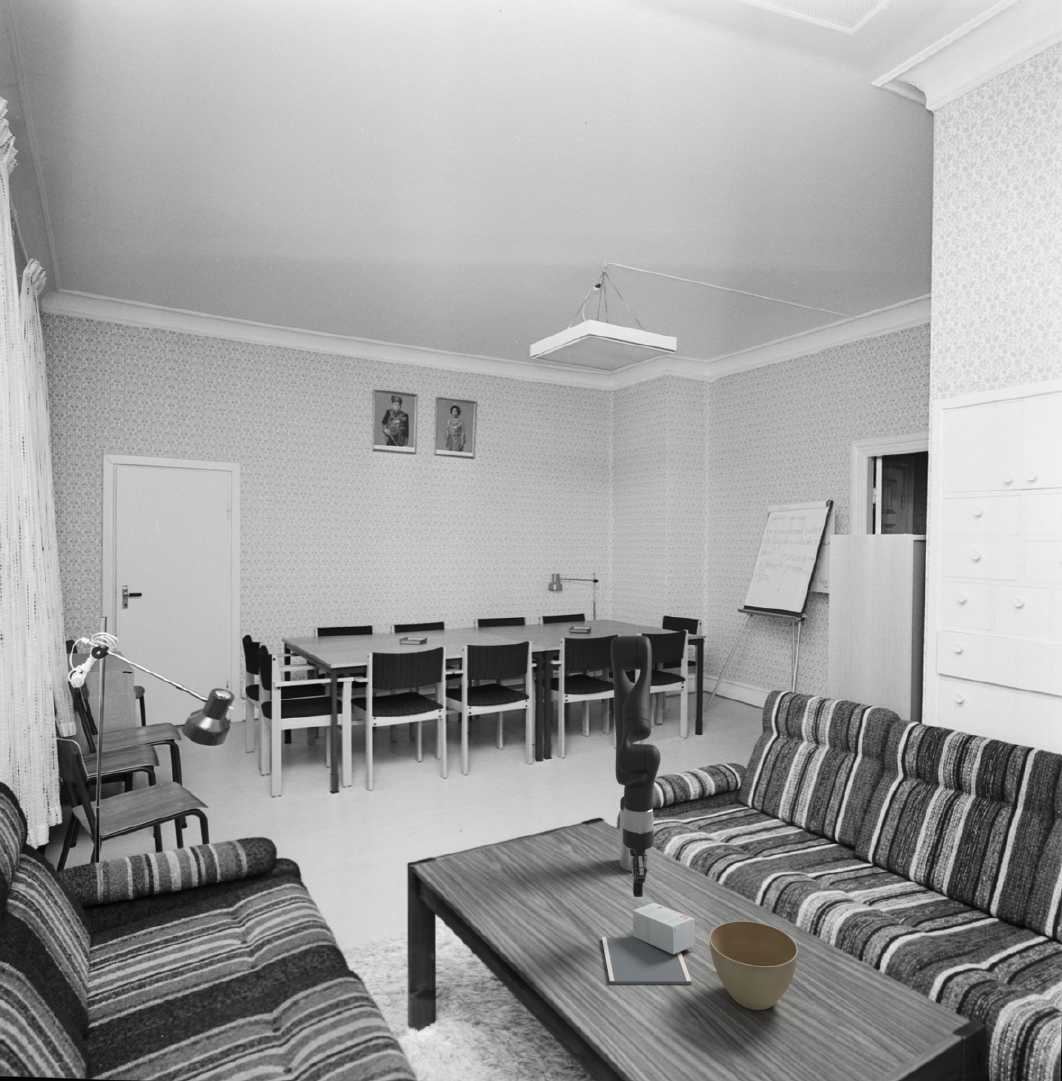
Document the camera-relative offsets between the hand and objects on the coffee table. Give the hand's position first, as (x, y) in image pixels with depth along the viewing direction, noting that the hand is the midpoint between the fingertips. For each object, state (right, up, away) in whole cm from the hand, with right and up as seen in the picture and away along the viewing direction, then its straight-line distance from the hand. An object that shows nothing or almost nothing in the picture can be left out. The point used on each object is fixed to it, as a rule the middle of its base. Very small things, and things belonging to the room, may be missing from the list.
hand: (637, 895), depth 185 cm
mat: (0, -10, -10) cm, 15 cm away
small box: (+2, -7, +2) cm, 7 cm away
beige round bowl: (+21, -11, -24) cm, 34 cm away
